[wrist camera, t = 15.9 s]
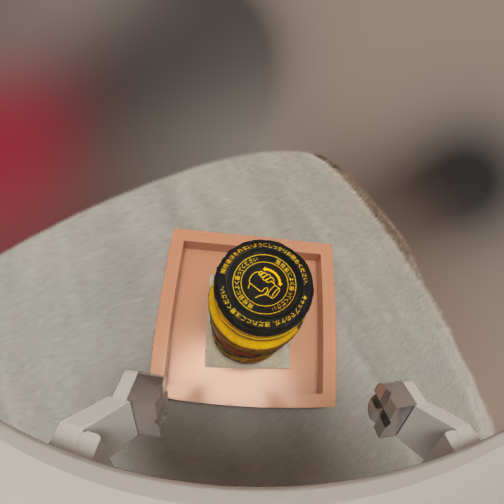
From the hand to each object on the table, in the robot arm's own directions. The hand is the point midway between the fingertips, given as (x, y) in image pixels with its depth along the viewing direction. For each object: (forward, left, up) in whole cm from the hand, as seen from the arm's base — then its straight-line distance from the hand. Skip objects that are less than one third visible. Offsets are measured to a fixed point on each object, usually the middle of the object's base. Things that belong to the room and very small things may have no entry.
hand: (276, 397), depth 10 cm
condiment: (+7, 0, -15) cm, 16 cm away
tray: (+7, 0, -15) cm, 17 cm away
